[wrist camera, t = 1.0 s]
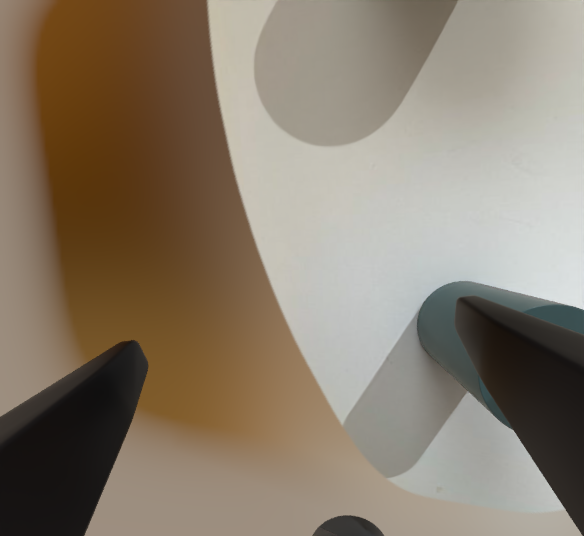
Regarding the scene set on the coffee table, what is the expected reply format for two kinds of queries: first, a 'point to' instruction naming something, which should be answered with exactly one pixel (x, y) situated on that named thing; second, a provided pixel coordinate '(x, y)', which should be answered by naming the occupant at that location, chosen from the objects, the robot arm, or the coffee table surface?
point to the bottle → (448, 347)
